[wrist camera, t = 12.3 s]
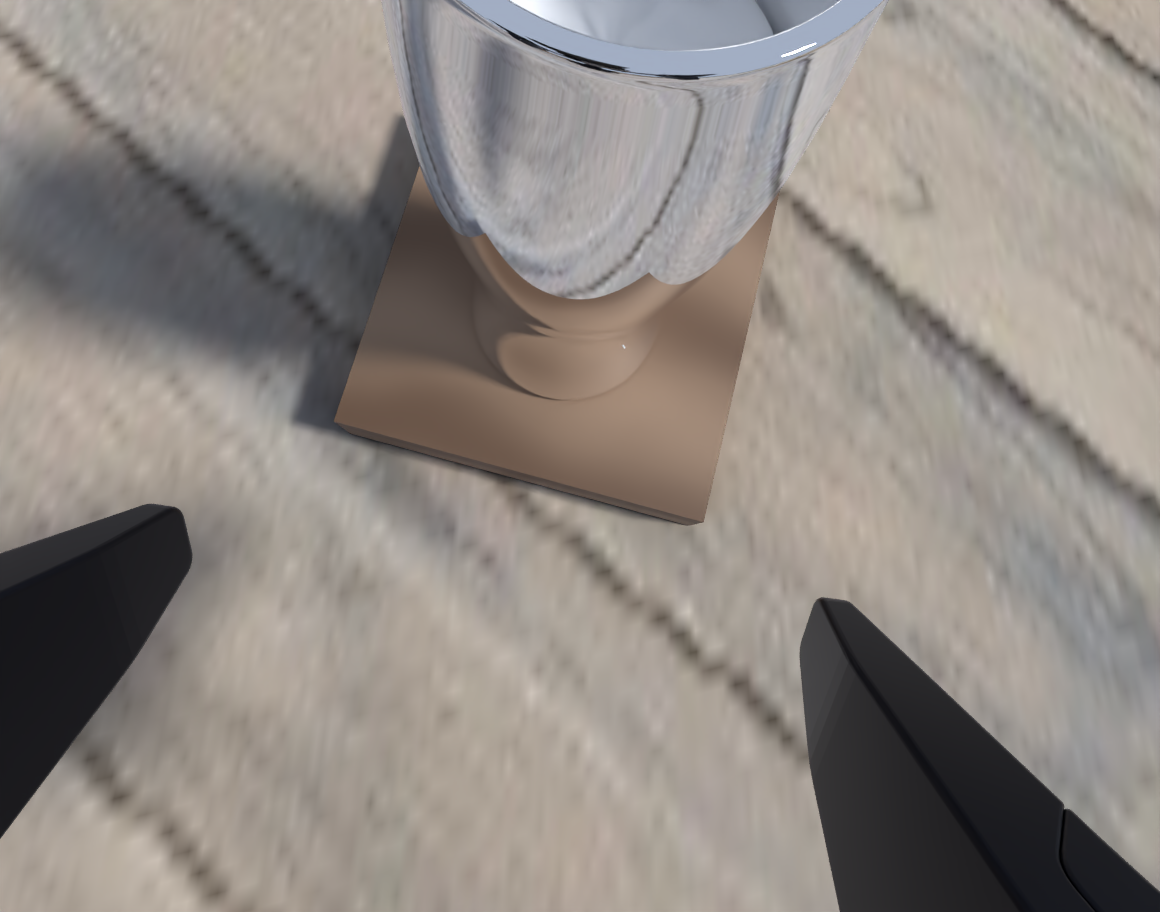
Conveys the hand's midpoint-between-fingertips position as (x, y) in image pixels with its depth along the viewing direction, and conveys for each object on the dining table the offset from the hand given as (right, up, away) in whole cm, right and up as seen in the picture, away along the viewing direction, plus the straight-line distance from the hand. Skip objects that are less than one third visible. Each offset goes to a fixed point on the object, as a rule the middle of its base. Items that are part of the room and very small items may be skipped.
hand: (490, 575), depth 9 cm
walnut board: (+1, +7, +15) cm, 16 cm away
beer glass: (+1, +6, +13) cm, 14 cm away
